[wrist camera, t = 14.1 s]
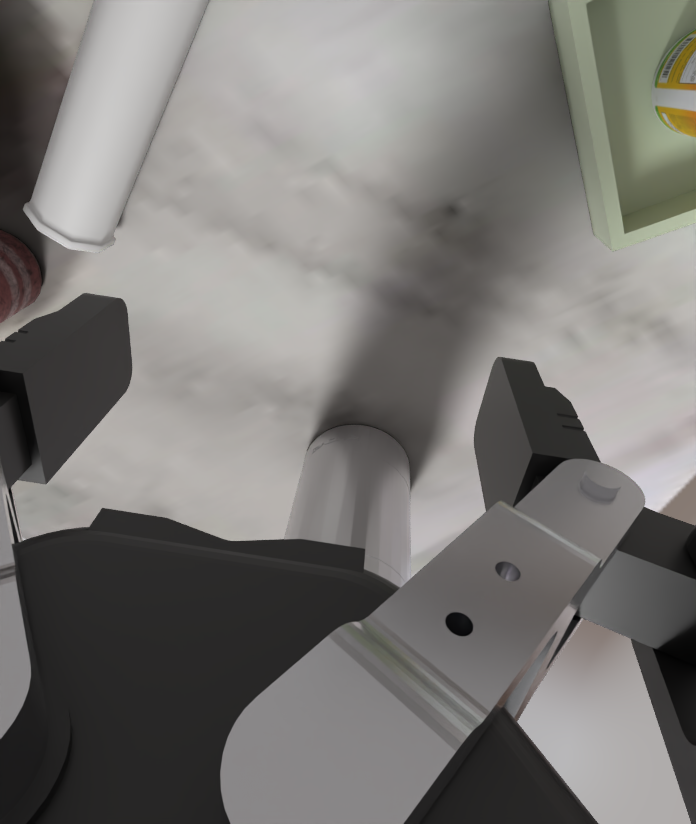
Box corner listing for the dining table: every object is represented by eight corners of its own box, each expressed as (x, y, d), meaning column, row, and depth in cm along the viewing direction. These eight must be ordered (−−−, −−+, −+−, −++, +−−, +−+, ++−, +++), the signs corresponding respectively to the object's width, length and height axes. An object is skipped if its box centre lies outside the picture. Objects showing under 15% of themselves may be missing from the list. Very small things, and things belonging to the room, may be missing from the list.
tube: (157, -312, 24) (5, 204, 35) (252, -240, 23) (67, 256, 35) (225, -226, 28) (71, 204, 40) (305, -165, 28) (126, 250, 40)
